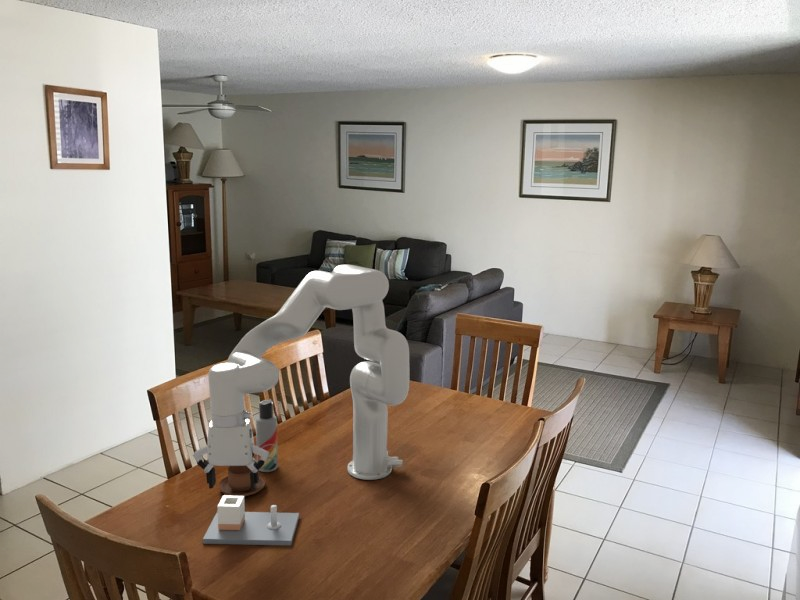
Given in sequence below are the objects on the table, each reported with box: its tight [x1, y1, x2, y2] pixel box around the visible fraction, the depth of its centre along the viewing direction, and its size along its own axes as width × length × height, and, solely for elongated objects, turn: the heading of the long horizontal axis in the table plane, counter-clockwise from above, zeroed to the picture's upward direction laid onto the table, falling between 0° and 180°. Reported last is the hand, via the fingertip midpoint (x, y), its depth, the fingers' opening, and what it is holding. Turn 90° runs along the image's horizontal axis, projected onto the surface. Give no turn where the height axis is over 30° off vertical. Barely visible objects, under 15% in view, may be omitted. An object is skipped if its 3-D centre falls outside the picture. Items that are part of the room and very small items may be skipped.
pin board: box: [202, 504, 300, 546], centre depth 155 cm, size 20×12×6 cm, turn 90°
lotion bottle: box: [255, 399, 278, 473], centre depth 185 cm, size 6×6×20 cm
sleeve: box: [216, 494, 246, 530], centre depth 155 cm, size 5×5×6 cm
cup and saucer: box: [218, 465, 266, 497], centre depth 174 cm, size 12×12×6 cm
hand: (233, 485), depth 154 cm, fingers open, 9 cm apart
